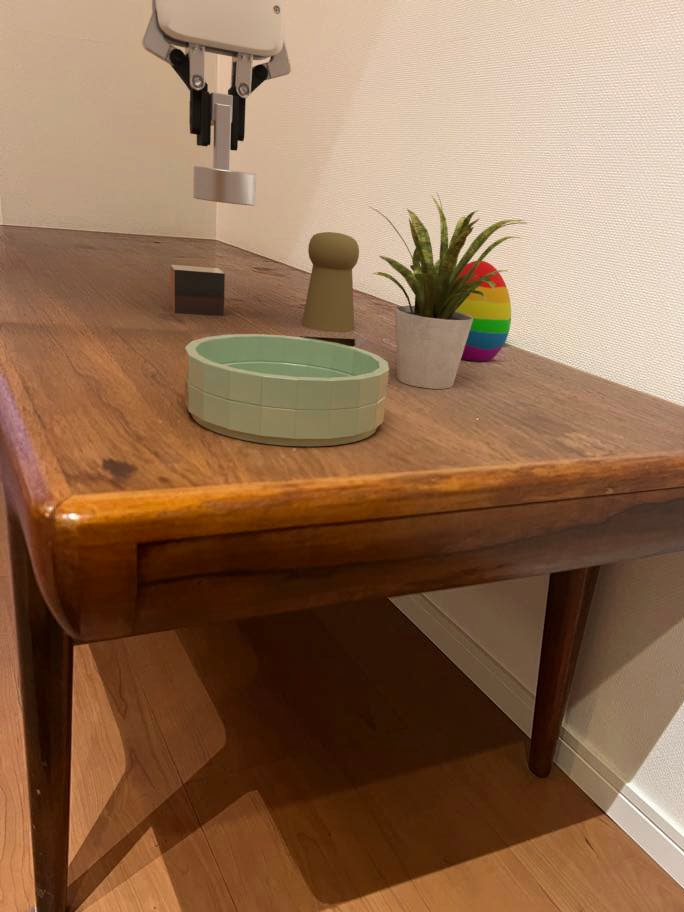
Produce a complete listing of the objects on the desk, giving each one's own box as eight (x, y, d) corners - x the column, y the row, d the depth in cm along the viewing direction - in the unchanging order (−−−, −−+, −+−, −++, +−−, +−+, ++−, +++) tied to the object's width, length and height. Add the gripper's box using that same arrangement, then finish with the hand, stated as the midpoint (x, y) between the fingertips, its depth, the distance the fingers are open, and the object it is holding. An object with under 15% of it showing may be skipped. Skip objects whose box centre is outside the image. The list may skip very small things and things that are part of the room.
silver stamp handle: (170, 189, 77) (170, 97, 74) (221, 195, 79) (224, 106, 76) (198, 199, 62) (199, 84, 58) (260, 207, 64) (265, 95, 60)
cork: (317, 348, 80) (324, 234, 75) (288, 336, 84) (294, 227, 80) (365, 347, 84) (376, 238, 79) (336, 335, 88) (344, 231, 83)
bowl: (200, 448, 48) (201, 376, 46) (175, 389, 60) (175, 329, 58) (410, 447, 53) (418, 382, 51) (349, 393, 65) (354, 338, 63)
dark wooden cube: (174, 329, 81) (174, 269, 78) (170, 321, 84) (170, 264, 82) (223, 331, 82) (224, 273, 80) (217, 324, 86) (218, 268, 83)
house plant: (540, 391, 74) (575, 205, 67) (471, 414, 63) (505, 195, 57) (415, 360, 81) (436, 188, 74) (332, 376, 70) (348, 176, 63)
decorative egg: (518, 361, 87) (535, 267, 82) (473, 367, 81) (488, 266, 77) (462, 345, 91) (475, 256, 87) (415, 349, 86) (427, 254, 82)
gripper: (309, -83, 65) (295, 159, 73) (109, -136, 59) (116, 134, 67) (335, -106, 59) (317, 161, 67) (115, -168, 53) (122, 133, 61)
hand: (216, 146), depth 67 cm, fingers closed on silver stamp handle
